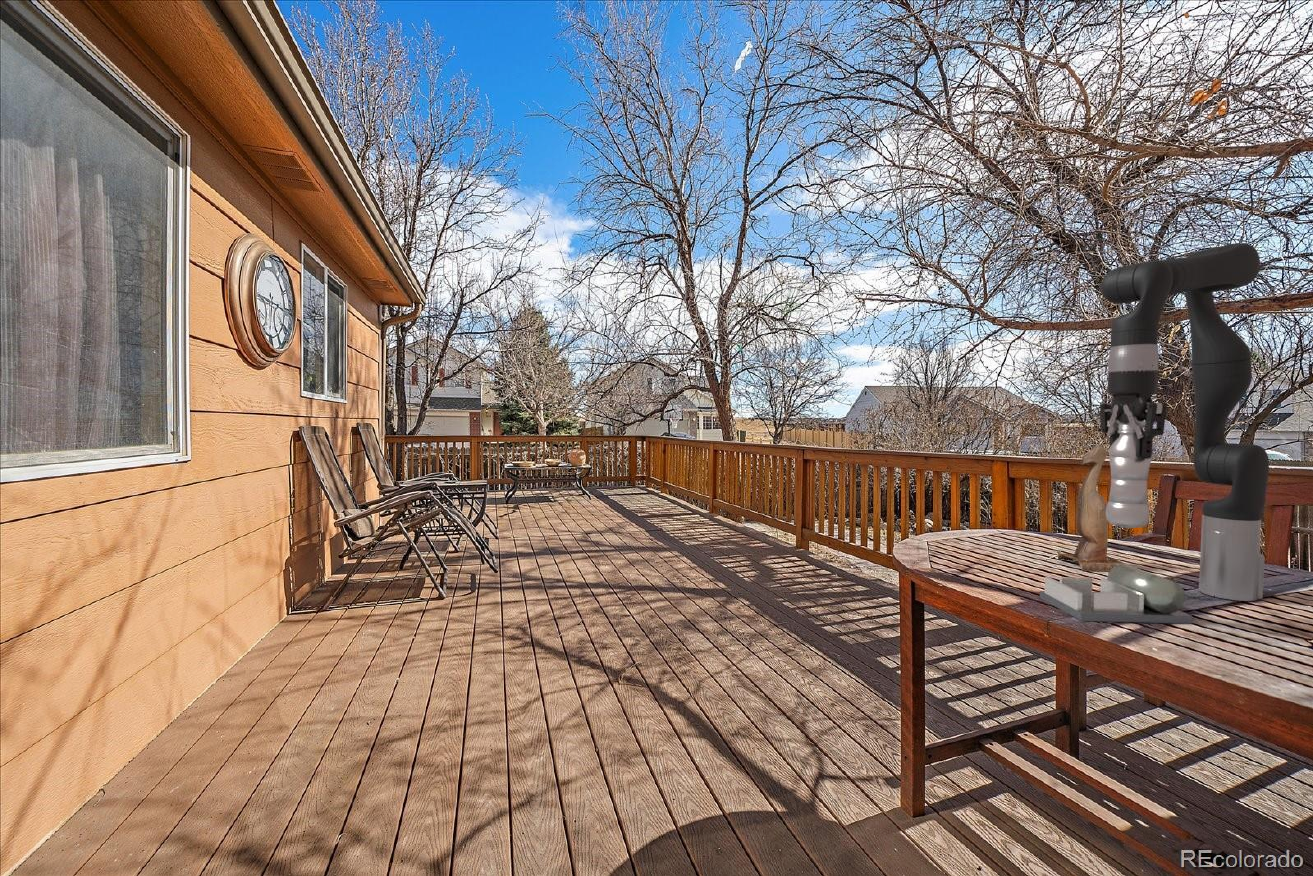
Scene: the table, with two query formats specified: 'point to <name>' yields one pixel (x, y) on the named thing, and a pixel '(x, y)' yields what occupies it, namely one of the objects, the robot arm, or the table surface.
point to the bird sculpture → (1092, 519)
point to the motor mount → (1119, 597)
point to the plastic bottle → (1127, 482)
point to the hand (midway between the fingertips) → (1129, 456)
